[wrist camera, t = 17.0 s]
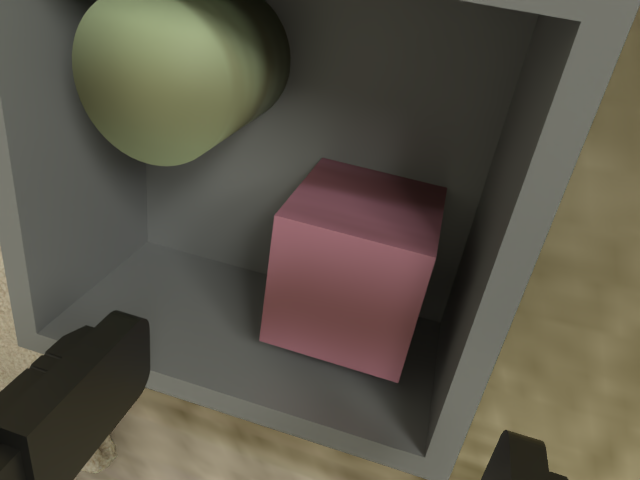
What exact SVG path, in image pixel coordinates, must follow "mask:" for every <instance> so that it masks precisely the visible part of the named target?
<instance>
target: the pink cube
mask: <svg viewBox="0 0 640 480" xmlns="http://www.w3.org/2000/svg"><path fill="white" fill-rule="evenodd" d="M446 192H447V188H446V187H442V186H438V185H434V184H429V183H425V182H421V181H417V180H413V179H409V178H405V177H401V176H396V175H392V174H388V173H384V172H380V171H376V170H372V169H368V168H363V167H359V166H355V165H351V164H347V163H343V162H339V161H334V160H330V159H326V158H322V159H321V160H320V161H319V162H318V163H317V165H316V166H315V167H314V168H313V169H312V171H311V172H310V173H309V174H308V175H307V177H306V178H305V179H304V180H303V181H302V183H301V184H300V185H299V186H298V187H297V189H296V190H295V191H294V192H293V193H292V195H291V196H290V197H289V198H288V199H287V201H286V202H285V203H284V204H283V205H282V207H281V208H280V209H279V210H278V212H277V213H276V214H275V215H274V223H273V231H272V239H271V247H270V256H269V264H268V272H267V280H266V288H265V297H264V305H263V313H262V321H261V330H260V338H259V341H262V342H265V343H268V344H271V345H275V346H278V347H281V348H284V349H288V350H291V351H294V352H298V353H301V354H304V355H307V356H311V357H314V358H317V359H320V360H324V361H327V362H330V363H334V364H337V365H340V366H343V367H347V368H350V369H353V370H357V371H360V372H363V373H366V374H370V375H373V376H376V377H379V378H383V379H386V380H389V381H393V382H396V383H398V382H399V379H400V376H401V372H402V369H403V366H404V362H405V359H406V356H407V352H408V349H409V346H410V343H411V339H412V336H413V333H414V329H415V326H416V323H417V319H418V316H419V313H420V310H421V306H422V303H423V300H424V296H425V293H426V290H427V286H428V283H429V280H430V277H431V273H432V270H433V267H434V263H435V260H436V256H437V249H438V243H439V237H440V230H441V224H442V218H443V211H444V205H445V199H446Z"/></svg>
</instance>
